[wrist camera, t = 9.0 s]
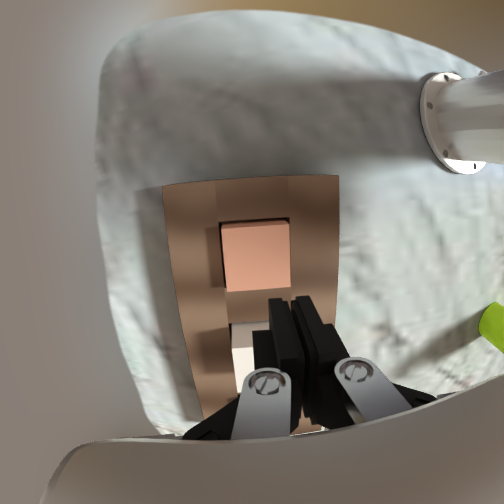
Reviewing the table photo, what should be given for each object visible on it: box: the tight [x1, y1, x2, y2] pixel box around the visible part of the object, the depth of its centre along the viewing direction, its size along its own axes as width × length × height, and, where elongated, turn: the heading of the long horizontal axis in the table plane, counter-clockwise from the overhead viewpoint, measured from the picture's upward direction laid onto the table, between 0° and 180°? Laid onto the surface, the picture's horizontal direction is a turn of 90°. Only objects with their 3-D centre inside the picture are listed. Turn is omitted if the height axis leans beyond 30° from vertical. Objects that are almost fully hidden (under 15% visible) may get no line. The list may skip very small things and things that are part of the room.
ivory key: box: [232, 320, 269, 393], centre depth 24 cm, size 5×5×4 cm
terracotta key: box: [221, 217, 291, 292], centre depth 23 cm, size 5×5×4 cm
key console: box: [162, 175, 339, 435], centre depth 27 cm, size 30×14×4 cm, turn 3°
